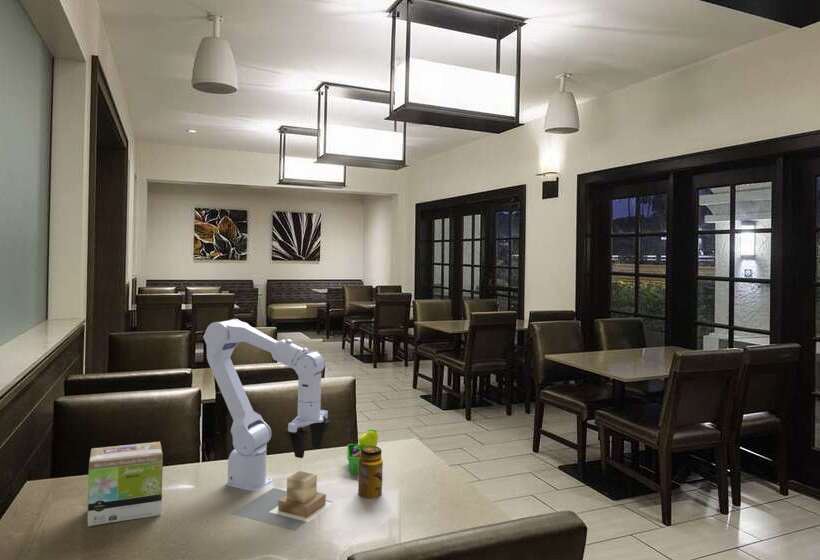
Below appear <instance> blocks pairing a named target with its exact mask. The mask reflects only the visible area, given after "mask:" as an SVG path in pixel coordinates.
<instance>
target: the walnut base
mask: <svg viewBox="0 0 820 560" xmlns="http://www.w3.org/2000/svg"><path fill="white" fill-rule="evenodd" d="M326 498H327V495H326V493H323V492H319V491H316V496H314V497H313V498H311V499H310V500H308V501H307V502H305V503H302V502H298V501H294V500H290V499H287V495H286V496H285V497H283V498H281V499H280V500H278V511H281V512H285V513H289V514H293V515H297V516H301V517H305V518H307V517H309V516H310V515H312V514H313V513H314V512H316V511H317V510H318V509H320V508H321V507H323V506H324V505H325V504H326Z"/></svg>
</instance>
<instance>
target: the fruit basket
mask: <svg viewBox="0 0 820 560" xmlns="http://www.w3.org/2000/svg"><path fill="white" fill-rule="evenodd" d="M378 440H379V434H378V430H376V428H369V429H368V430H367V432H366V433H364V434H362V435H360V436H359V438H358V442H359V443H350V444H347V445H346V446H347V451H346V458H347V461H348V465H349V468H350V473H351V474H359V460H360V458H361V450H362V448H363V447H366V446H376V447H378Z"/></svg>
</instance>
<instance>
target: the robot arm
mask: <svg viewBox="0 0 820 560" xmlns="http://www.w3.org/2000/svg"><path fill="white" fill-rule="evenodd" d="M203 340H204V342H205V344H206V359H207V363H208V366H209V367H210V369H211V372H212V374H213V377H214V379H215V381H216V383H217V386H218V388H219V390H220V392H221V395H222V397H223V399H224V402H225V405H226V406H227V409H228V411H229V413H230V416H231V418H232V420H233V422H232V425H231V427H230V433H231V436H232V446H233V448H234V449H233V450H232V451H231V452H230V454H229V455H228V460H227V482H225V486H229V487H233V488H237V489H241V490H246V491H250V492H256V491H258V490H259V489H261V488H263V487H265V486H266V485H269V484H271V483H272V482H273V481H274V480H273V479H272V478H267V447H268V445H267V443H269V441H270V440H271V438H272V429H271V426H270V425H269V424H267V422H265V421H264V418H263V417H262V415H261V414H259V413H258V412H256V411H255V410H254V409H253V407H252V405H251V402H250V400H249V397H248V396H247V393H246V391H245V388H244V386H243V384H242V382H241V380H240V377H239V374H238V372H237V370H236V368H235V366H234V364H233V361H232V359H231V356H232V354H233V353H234V350H235V348H237V346H238V345H239V343H243V342H244V343H247V344H250V345H251V346H254V347H257V348H259V349H261V350H263V351H266V352H269V353H270V354H271V356H272V357H271V358H272V359H273V360H275V361H276V362H278V363H281V364H283V365H284V366H286V367H289V368H291V369H293V370H294V371H295V373H296V375H297V376H298V381H297V382H298V383H297V384H298V385H297V386H298V387H297V389H298V391H297V416H296V417H295V418H294V419H293V420H292V421H291V422H289V423H288V424H287V425H288V427H287V428H286V433H285V434H286V435H287V436H288V439H289V440H290V442H291V447H292V449H293V454H294V457H295V458H299V459H303V458H304V456H305V449H306V448H305V447H306V442H307V439H308V436H309V434H311V447H312V449H315V450H316V449H317V450H320V449H321V447H322V444H323V440H324V436H325V434H326V431H327V429H328V428H329V426H330V424H331V423H330V422H331V421H330V420H329V419H328V415H329V411H328V410H324V409H321V402H322V401H321V400H322V397H321V396H322V371H323V370H324V368H325V367H326V360H325V357H324V356H323V355H322V354H321V352H319V351H318V350H311V351H309V349H308V348H307V347H301V346H300V345H299V346H298V345H297V344H295V343H293V340H292V339H290V338H289V339H281V340H277V339H274V338H272V337H271V336H269V335H267V334H265V333H264V332H262V331H260V330H259V329H256V328H255V327H252V326H251V325H250V324H249V323H248V322H245V321H241V320H239V319H238V318H232V319H228V320H223V321H214V322H212V323H210V324H209V325H208V326H207V328H206V330H205V332H204V335H203ZM307 426H309V428H310V431H306V430H305V429H303V428H305V427H307Z"/></svg>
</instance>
